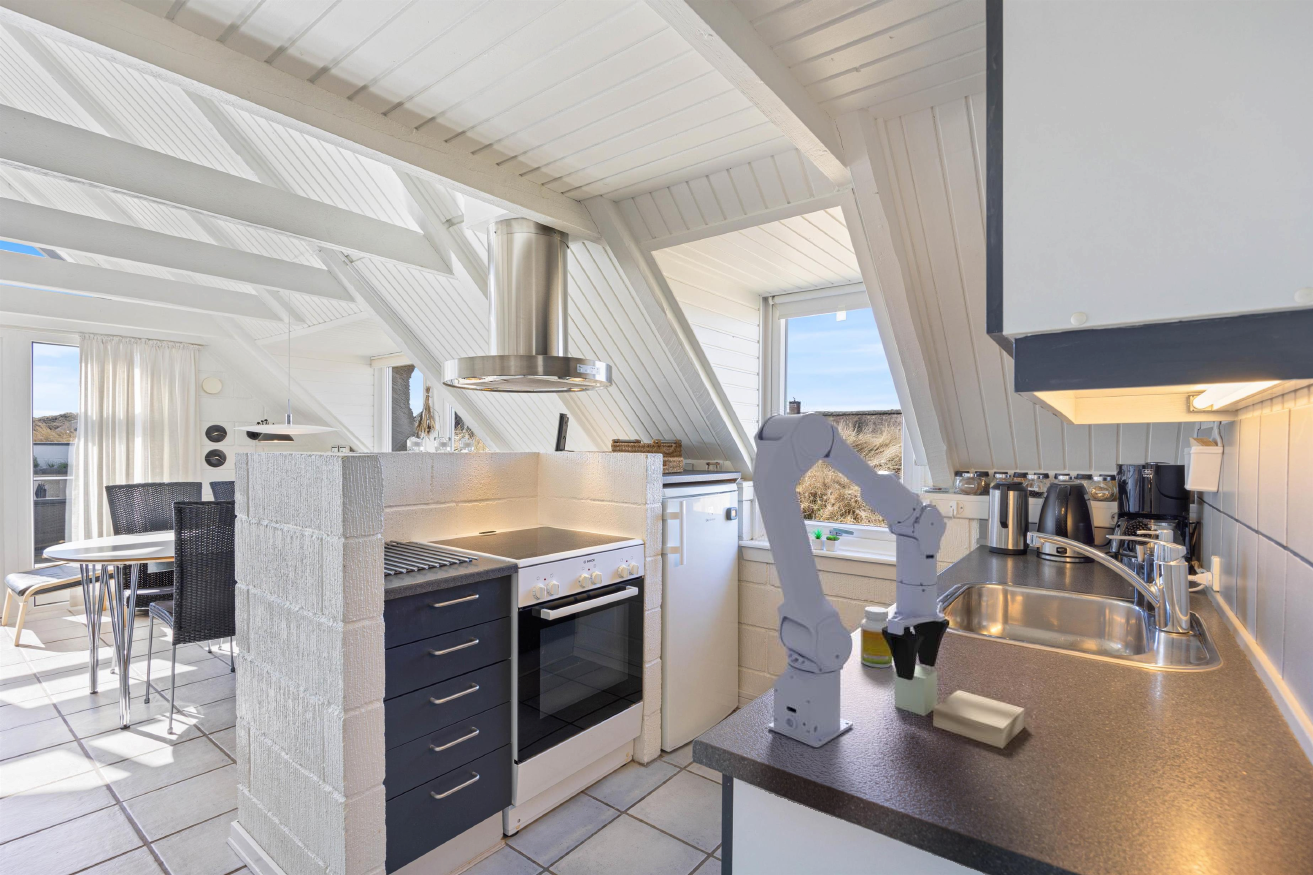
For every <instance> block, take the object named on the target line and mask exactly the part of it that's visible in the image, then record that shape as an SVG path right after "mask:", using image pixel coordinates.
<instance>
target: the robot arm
mask: <svg viewBox="0 0 1313 875" xmlns="http://www.w3.org/2000/svg"><path fill="white" fill-rule="evenodd" d="M753 440H754V441H753V442H754V443H755V449H756V453H755V459H754V460H755V461H754V465H753V473H752V486H753V490H754V494H755V497H756V501H757V503H758V504H757V505H758V508H759V512H760V515H761V519H762V523H763V526H764V530H765V534H766V537H767V542H768V545H769V548H770V552H771V556H772V559H773V563H774V566H775V570H776V573H777V578H778V581H779V584H780V587H781V592H782V595H783V598H784V600H783V601H781V603H779V605H778V606H777V609H776V610H777V613H778V617H779V619H778V621H779V622H778V623H779V624H778V627H777V628H778V631H777V634H778V639H779V641H780V643H781V645H782V646H783V647H784V648H785V649H786V651H785V652H786V655H785V656H786V657H787V664H786V667H785V670H784V672H782V673H781V674H780V675H779V676H778V677H777V678H776V679H775V682H774V686H773V722H771V723H769V724H768V729H769V730H772V731H774V732H777V733H779V734H782V735H784V736H786V737H788V738H792V739H794V740H796V741H798V742H801V743H804V744H806V745H809V746H811V747H813V748H820V747H821V746H823V745H824V744H826V743H828V742H829V741H831V740H832V739H834V738H836V737H837V736H839V735H840V734H843V733H844V732H846V731H847V730H848V729H851V728H852V727H853V726H854V723H853V721H850V720H847V719H845V718H842V717H841V671H842V670H844V666H845V664H846V663H847V662H848V660H849V659H850V657H851V654H852V652H853V639H852V635H851V632H850V631H849V630H848V629H847V627H845V625H844V624H843V622H842V620H841V616H840V614H839V611H838V610H837V609H836V608H835V606H834V605H833V604H832V603H831V601H830V600H829V599H828V598H827V596H826V595H825V593H824V590H823V586H822V582H821V577H820V575H819V572H818V570H819V569H818V567H817V563H816V560H815V556H814V553H813V549H812V545H811V541H810V537H809V533H808V529H807V526H806V523H805V522H806V521H805V519H804V514H803V511H802V508H801V504H800V500H799V496H798V493H797V486H798V484H799V483H800V481H801V480H802V478H803V477H804V476H805V475H806V474H807V473H808V472H809V471H811V469H812V468H814V466H815V465H817V463H819V462H820V461H822V462H824V463H826V464H827V465H828V466H830V467H831V468H832V469H834V470H835V471H836V472H838V473H839V474H840V475H842V477H844V478H846V479H847V480H848V481H849V482H850V483H852V484H854V485H855V486H856V487H857V488H859V489H860V490H859V491H860V494H859V495H860V500H861V501H862V502H863V503H864V504H865V505H866V506H868V507H869V508H870V509H871V510H873V511H874V512H875V513H876V514H877V515H879V516H880V517H881V518H882V519H883V520H884V521H885V522H886V526H887V530H888V531H889V532H890V534H891V535H895V540H896V541H895V553H896V554H895V555H896V557H895V558H896V559H895V570H896V571H895V572H896V573H895V574H896V575H895V577H896V578H895V589H896V590H895V592H896V593H895V600H896V602H895V608H894V610H893V612H892V614H891V616H890V617H888V619H887V621H888V626H886V627H883V628H882V635H883V637H884V639H885V640H886V642H887V644H888V646H889V648H890V651H891V654H892V662H893V664H894V668H895V670H896V673H897V676H898V677H900V678H903V679H907V680H912V679H913V677H914V673H915V665H917V659H918V662H919V664H920V665H922V666H923V665H924V666H927V667H932V668H934V667H935V666H936V663H937V658H938V656H939V650H940V647H941V644H942V643H941V642H942V640H943V638H944V635H945V633H946V631H947V630H948V628H949V627H950V623H951V622H950V620H949V619H948V618H946V615H945V614H944V613H943V607H944V606H943V602H938V554H939V553H940V550H941V541H942V538H943V537H944V535H945V533H946V530H947V524H948V523H947V521H945V518H944V515H943V513H942V512H941V511H940V509H939V508H938V507H937V506H936V505H934V504H932V503H924V502H923V501H922V499H920V498H921V495H919V493H918V492H915V491H911V489H909V488H908V487H907V486H906V485H905V484H904V483H902V481H901V480H900V479H901V476H900V475H899V474H898V473H896V472H890V471H887V470H881V471H877V470H876V469H875V468H874V467H873V466H872V465H871V464H870V463H869V462H868V461H867V460H866V459H864V457H863V456H862V455H861V454H860V453H859V452H858V450H856V449H855V448H854V447H853V446H852V445H851V444H850V443H849V442H848V441H847V440H846V439H845V438H844V437H843V436H842V435H841V433H840V429H839V427H838V426H837V425H835V424H833V423H832V422H829V420H828V418H826V417H825V416H824V415H823V414H821V413H817V412H814V411H813V412H812V411H811V412H807V413H801V414H779V413H777V414H772V415H770V416H768V417H767V418H766V419H764V420H763V422H762V423H761V425H760V427H759V428H758V429H757V431H756V433H755V435H753ZM911 628H913V631H912V630H911ZM913 632H914V633H913Z"/></svg>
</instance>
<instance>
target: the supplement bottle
mask: <svg viewBox="0 0 1313 875" xmlns="http://www.w3.org/2000/svg"><path fill="white" fill-rule="evenodd" d="M864 617H865V618H864V619H863V620H861V622H860V661H861V663H862V664H864V665H866V666H868V667H871V668H876V669H877V668H878V669H880V668H881V669H882V668H883V669H885V668H889V667H891V666H892V665H893V657H892V654H891V651H890V648H889V646H888V644H887V642H886V640H885V639H884V637H883V635H882V628H883V627H886V626H888V619H889V610H888V608H885V607H880V606H866V607H865V608H864Z"/></svg>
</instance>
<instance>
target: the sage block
mask: <svg viewBox="0 0 1313 875" xmlns="http://www.w3.org/2000/svg"><path fill="white" fill-rule="evenodd" d="M936 705H938V670H936V669H932V668H928V667H924V666H921V665H917V664H916V665H915V673H914V677H913V679H912V680H907V679H903V678H900V677H898V676H897V673H896V669H895V670H894V707H895V706H896V707H895V708H898V707H899V708H898V709H902V710H905V711H907V710H908V712H911V713H914V714H917V715H921V716H923V717H925V716H926V715H928V714H929V713H930V712H932V711H933V707H935V706H936Z"/></svg>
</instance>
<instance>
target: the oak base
mask: <svg viewBox="0 0 1313 875" xmlns="http://www.w3.org/2000/svg"><path fill="white" fill-rule="evenodd" d="M932 711H933V717H932V718H933V720H932V722H933V723H932V724H933V725H932V726H933V727H936V728H939V729H941V730H942V729H943V730H945V731H948V732H951V733H954V734H957V735H960V736H963V737H966V738H968V739H969V738H970V739H973V740H975V741H978V742H981V743H985V744H988V745H990V746H993V747H996V748H1000V749H1004V748H1005V747H1006V746H1007V745H1008V743H1010V742H1011V741H1012V739H1014V738H1015V737H1016V736H1017V735H1018V734H1019V733H1020V732H1021V731H1022V730H1023V729H1024V728H1025V720H1026V719H1025V717H1026V716H1025V712H1026V711H1025V708H1023V707H1021V706H1020V707H1019V706H1017V705H1013V704H1009V703H1006V702H1004V701H1003V702H1002V701H999V700H995V699H992V698H990V697H989V698H988V697H986V696H985V697H984V696H981V695H977V694H974V693H971V692H967V691H963V690H961V689H957V690H956V691H955V692H954V693H951V695H949V696H948V697H946V698H945V699H943V700H942V701H941V702H939V703H937V705H936V706H935V707H933V710H932Z"/></svg>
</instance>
